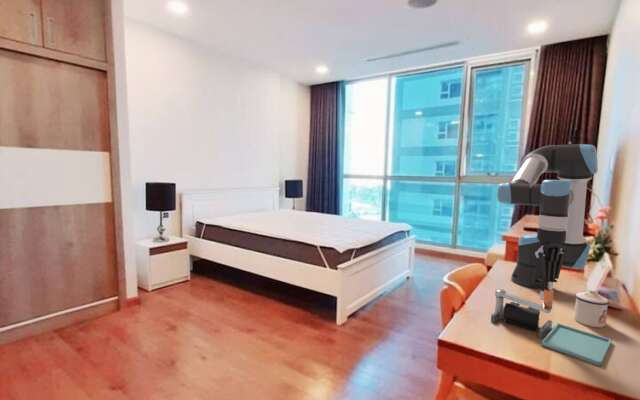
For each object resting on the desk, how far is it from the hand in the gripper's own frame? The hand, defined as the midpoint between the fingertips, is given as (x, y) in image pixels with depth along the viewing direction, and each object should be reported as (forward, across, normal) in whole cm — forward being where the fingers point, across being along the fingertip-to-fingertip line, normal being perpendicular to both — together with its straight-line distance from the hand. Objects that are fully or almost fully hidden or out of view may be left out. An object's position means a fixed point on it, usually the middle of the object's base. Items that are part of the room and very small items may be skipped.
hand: (545, 300), depth 107 cm
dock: (+11, +1, -7) cm, 13 cm away
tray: (+11, -3, +8) cm, 14 cm away
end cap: (+11, +1, -7) cm, 13 cm away
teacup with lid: (+11, -26, 0) cm, 28 cm away
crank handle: (+3, +3, -6) cm, 7 cm away
